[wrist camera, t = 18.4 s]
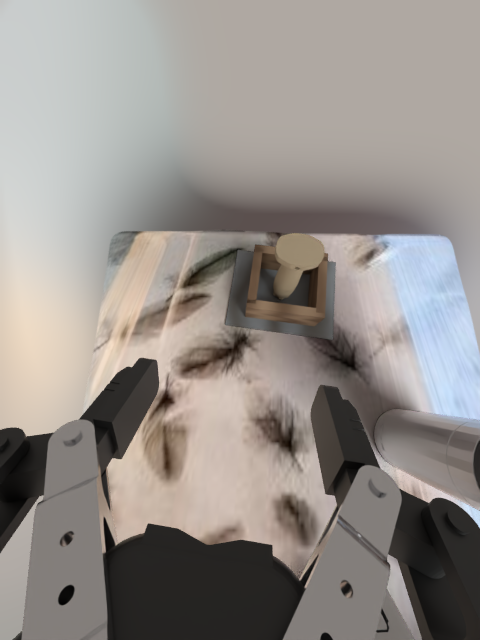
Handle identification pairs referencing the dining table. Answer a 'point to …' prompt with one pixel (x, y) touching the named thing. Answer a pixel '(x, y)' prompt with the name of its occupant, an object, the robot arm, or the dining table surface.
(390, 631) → the electrical switch
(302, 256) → the handle
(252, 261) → the socket holder
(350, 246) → the dining table surface
